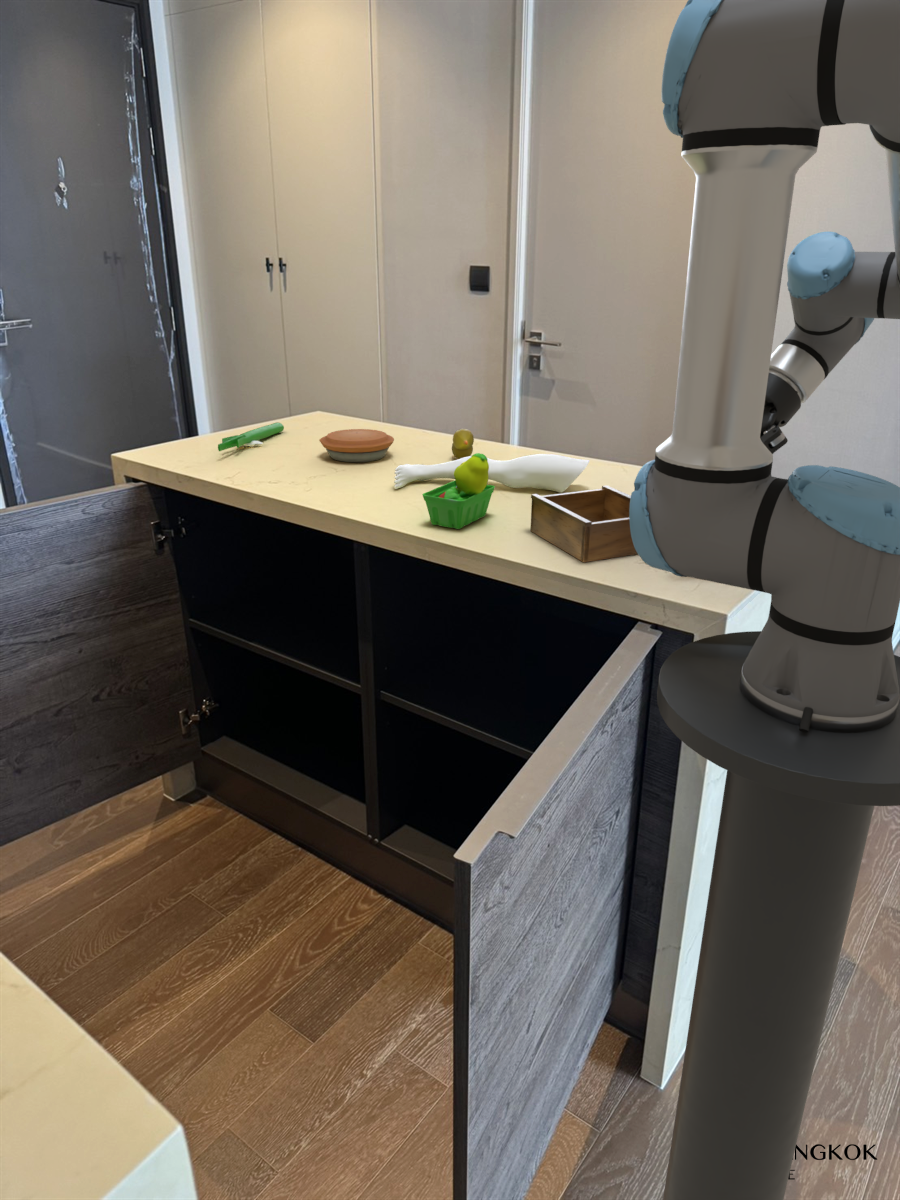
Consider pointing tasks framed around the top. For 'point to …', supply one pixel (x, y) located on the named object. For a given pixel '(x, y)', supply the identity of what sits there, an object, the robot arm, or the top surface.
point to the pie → (357, 445)
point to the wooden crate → (585, 523)
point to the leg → (505, 471)
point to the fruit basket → (461, 495)
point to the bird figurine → (462, 443)
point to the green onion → (250, 436)
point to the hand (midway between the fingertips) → (666, 520)
